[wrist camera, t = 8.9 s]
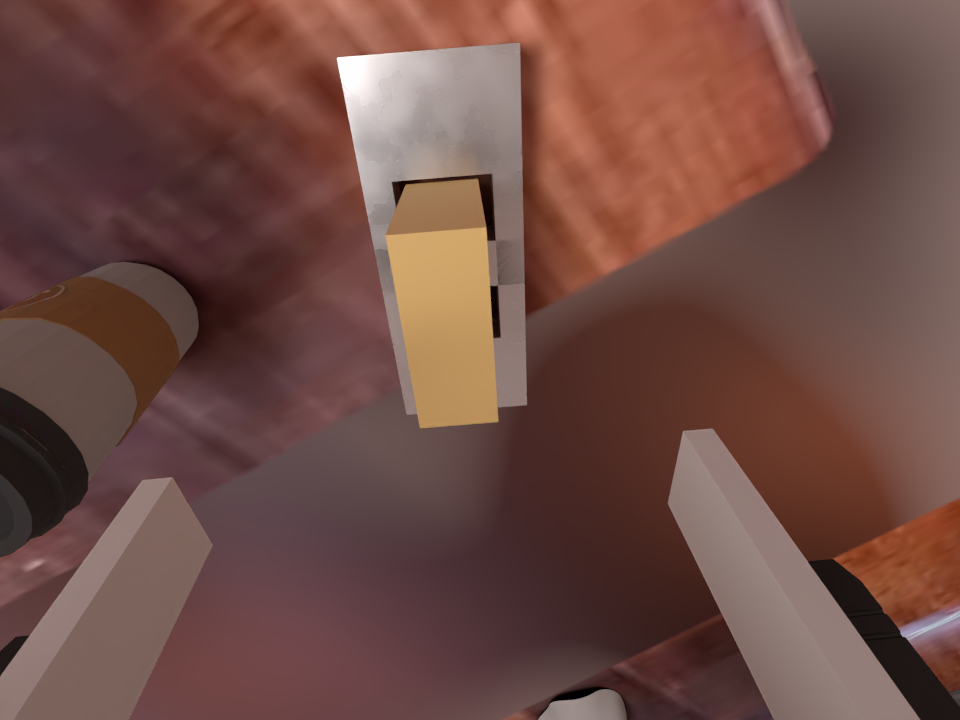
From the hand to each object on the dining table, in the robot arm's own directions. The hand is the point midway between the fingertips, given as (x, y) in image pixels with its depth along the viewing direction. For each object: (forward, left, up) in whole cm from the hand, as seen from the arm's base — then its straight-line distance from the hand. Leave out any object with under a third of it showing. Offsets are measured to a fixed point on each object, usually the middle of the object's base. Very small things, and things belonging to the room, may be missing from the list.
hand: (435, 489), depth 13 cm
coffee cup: (-19, -2, -19) cm, 26 cm away
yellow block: (0, 0, -18) cm, 18 cm away
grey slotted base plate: (0, 0, -18) cm, 18 cm away
